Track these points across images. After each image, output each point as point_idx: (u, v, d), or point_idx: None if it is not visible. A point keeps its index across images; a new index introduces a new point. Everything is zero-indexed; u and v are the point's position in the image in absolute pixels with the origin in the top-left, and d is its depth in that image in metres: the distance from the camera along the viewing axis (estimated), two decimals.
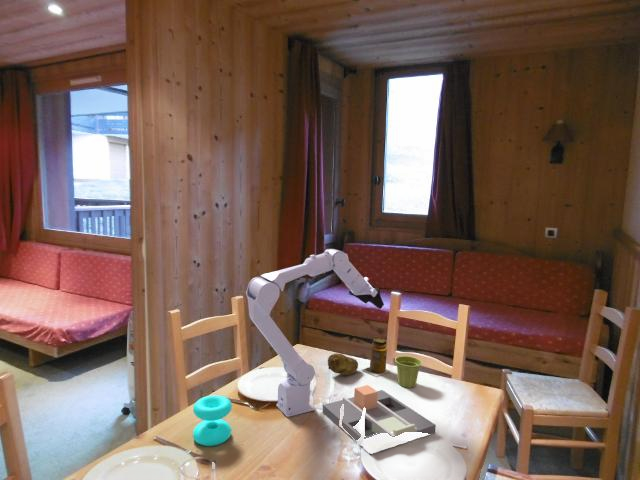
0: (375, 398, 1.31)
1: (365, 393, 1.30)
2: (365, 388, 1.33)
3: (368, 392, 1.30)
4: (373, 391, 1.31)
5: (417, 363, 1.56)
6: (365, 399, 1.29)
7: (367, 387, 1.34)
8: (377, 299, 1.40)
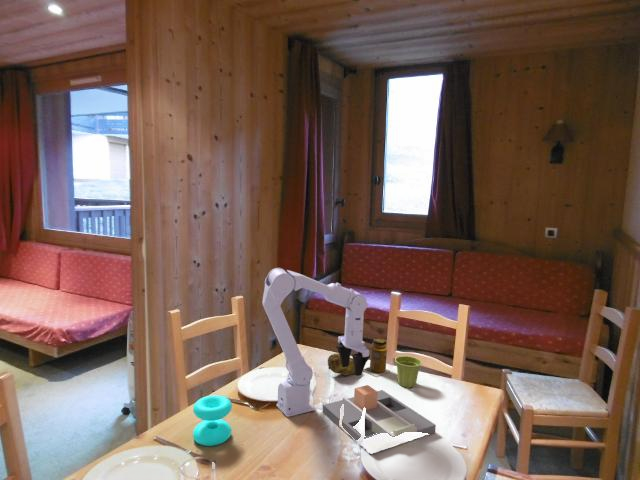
0: (375, 398, 1.31)
1: (365, 393, 1.30)
2: (365, 388, 1.33)
3: (368, 392, 1.30)
4: (373, 391, 1.31)
5: (417, 363, 1.56)
6: (365, 399, 1.29)
7: (367, 387, 1.34)
8: (360, 364, 1.35)
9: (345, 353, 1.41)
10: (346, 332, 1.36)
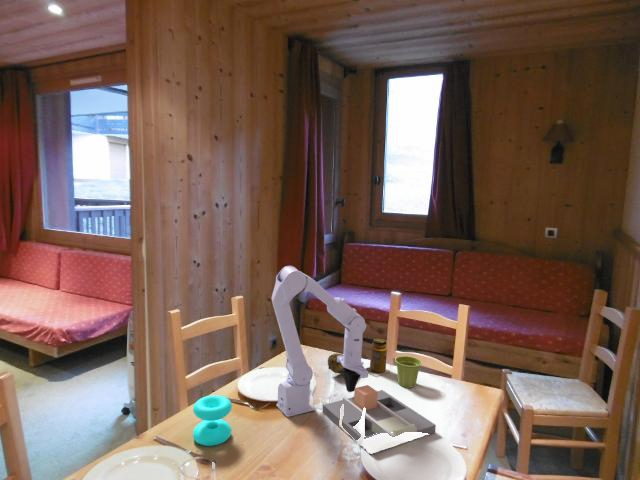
0: (375, 398, 1.31)
1: (365, 393, 1.30)
2: (365, 388, 1.33)
3: (368, 392, 1.30)
4: (373, 391, 1.31)
5: (417, 363, 1.56)
6: (365, 399, 1.29)
7: (367, 387, 1.34)
8: (353, 381, 1.38)
9: None
10: (345, 353, 1.36)
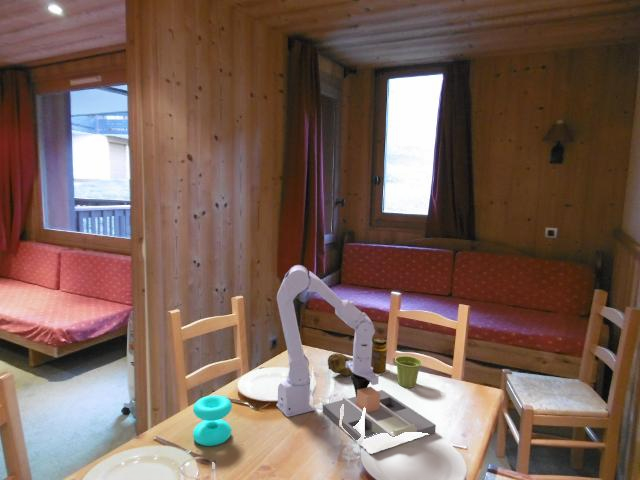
0: (378, 400, 1.30)
1: (367, 395, 1.28)
2: (367, 390, 1.32)
3: (371, 394, 1.29)
4: (376, 393, 1.30)
5: (417, 363, 1.56)
6: (367, 401, 1.28)
7: (370, 389, 1.33)
8: (362, 387, 1.34)
9: None
10: (354, 358, 1.32)
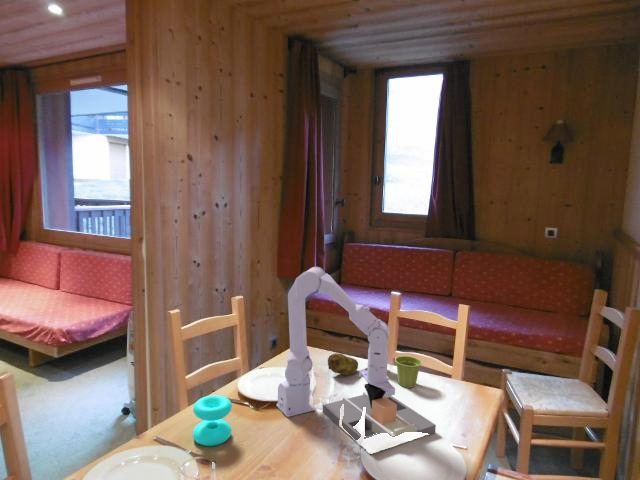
0: (394, 411, 1.24)
1: (383, 406, 1.22)
2: (383, 400, 1.25)
3: (387, 405, 1.23)
4: (392, 404, 1.24)
5: (417, 363, 1.56)
6: (384, 412, 1.21)
7: (385, 399, 1.26)
8: (378, 398, 1.28)
9: None
10: (369, 367, 1.26)
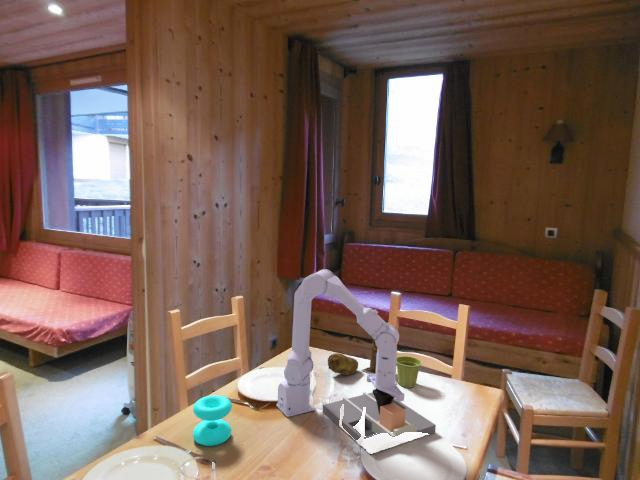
0: (403, 418, 1.20)
1: (392, 412, 1.19)
2: (391, 406, 1.22)
3: (395, 411, 1.20)
4: (401, 410, 1.20)
5: (417, 363, 1.56)
6: (392, 419, 1.18)
7: (394, 405, 1.23)
8: (386, 403, 1.24)
9: None
10: (378, 372, 1.22)
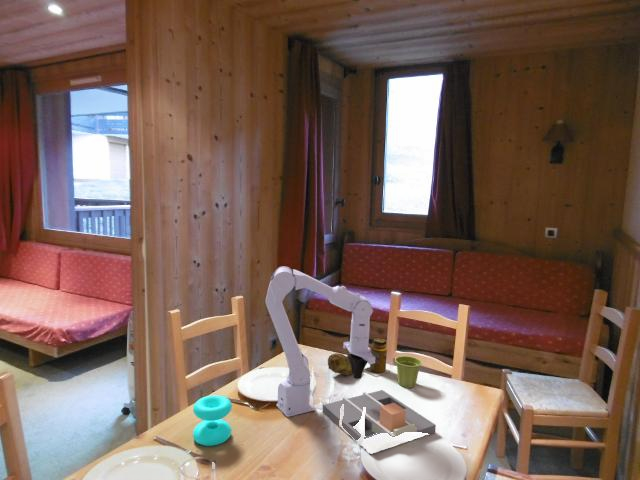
0: (403, 418, 1.20)
1: (392, 412, 1.19)
2: (391, 406, 1.22)
3: (395, 411, 1.20)
4: (401, 410, 1.20)
5: (417, 363, 1.56)
6: (392, 419, 1.18)
7: (394, 405, 1.23)
8: (360, 367, 1.34)
9: None
10: (352, 338, 1.32)
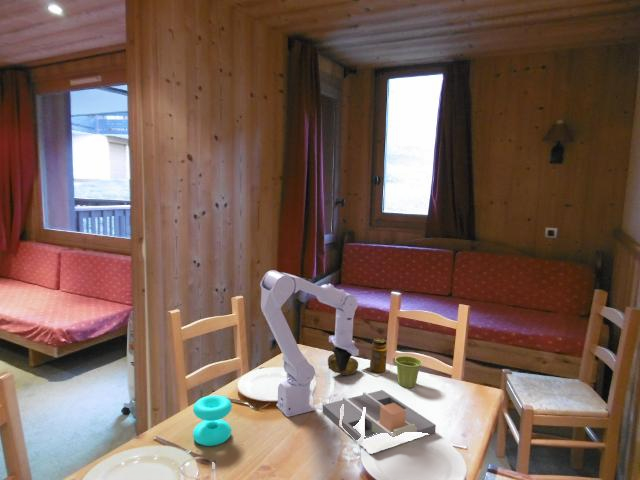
0: (403, 418, 1.20)
1: (392, 412, 1.19)
2: (391, 406, 1.22)
3: (395, 411, 1.20)
4: (401, 410, 1.20)
5: (417, 363, 1.56)
6: (392, 419, 1.18)
7: (394, 405, 1.23)
8: (344, 360, 1.41)
9: None
10: (336, 332, 1.39)
